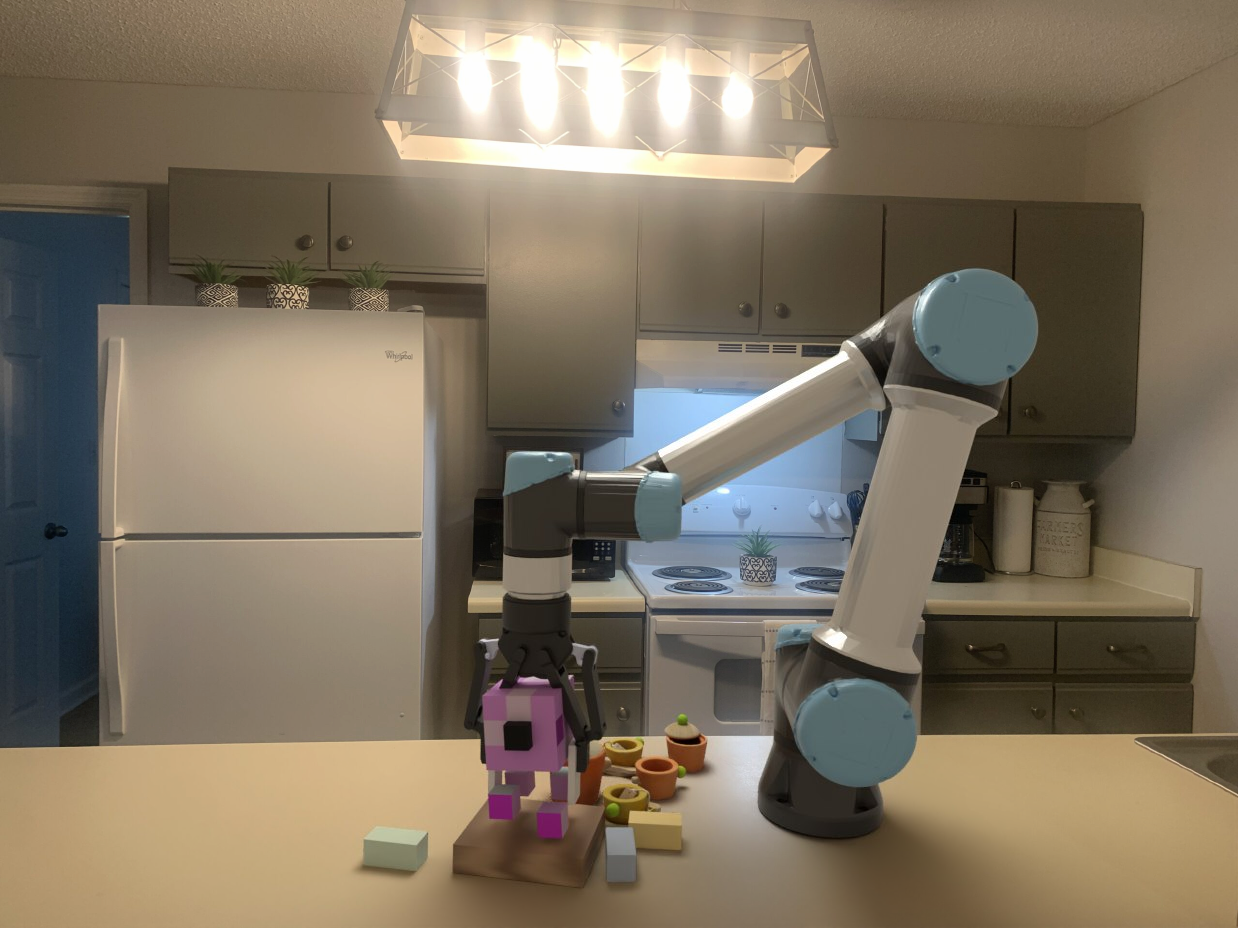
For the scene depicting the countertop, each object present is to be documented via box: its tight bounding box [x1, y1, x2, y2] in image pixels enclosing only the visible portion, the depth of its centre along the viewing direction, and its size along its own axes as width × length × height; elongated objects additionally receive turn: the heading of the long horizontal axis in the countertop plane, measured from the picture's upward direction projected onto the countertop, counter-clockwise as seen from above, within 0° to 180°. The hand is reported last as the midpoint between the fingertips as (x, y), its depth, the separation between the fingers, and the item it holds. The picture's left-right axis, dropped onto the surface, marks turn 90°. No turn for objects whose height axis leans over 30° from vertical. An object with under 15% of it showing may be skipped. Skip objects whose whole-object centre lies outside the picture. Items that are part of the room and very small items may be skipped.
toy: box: [482, 674, 576, 838], centre depth 91 cm, size 11×8×15 cm
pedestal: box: [452, 797, 606, 889], centre depth 91 cm, size 14×12×3 cm
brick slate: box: [604, 826, 637, 883], centre depth 88 cm, size 6×3×3 cm, turn 3°
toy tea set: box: [549, 713, 708, 828], centre depth 108 cm, size 26×16×10 cm, turn 150°
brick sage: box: [362, 825, 429, 872], centre depth 88 cm, size 6×3×3 cm, turn 80°
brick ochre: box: [628, 811, 683, 851], centre depth 94 cm, size 6×3×3 cm, turn 86°
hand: (534, 795), depth 91 cm, fingers closed on toy, 8 cm apart
